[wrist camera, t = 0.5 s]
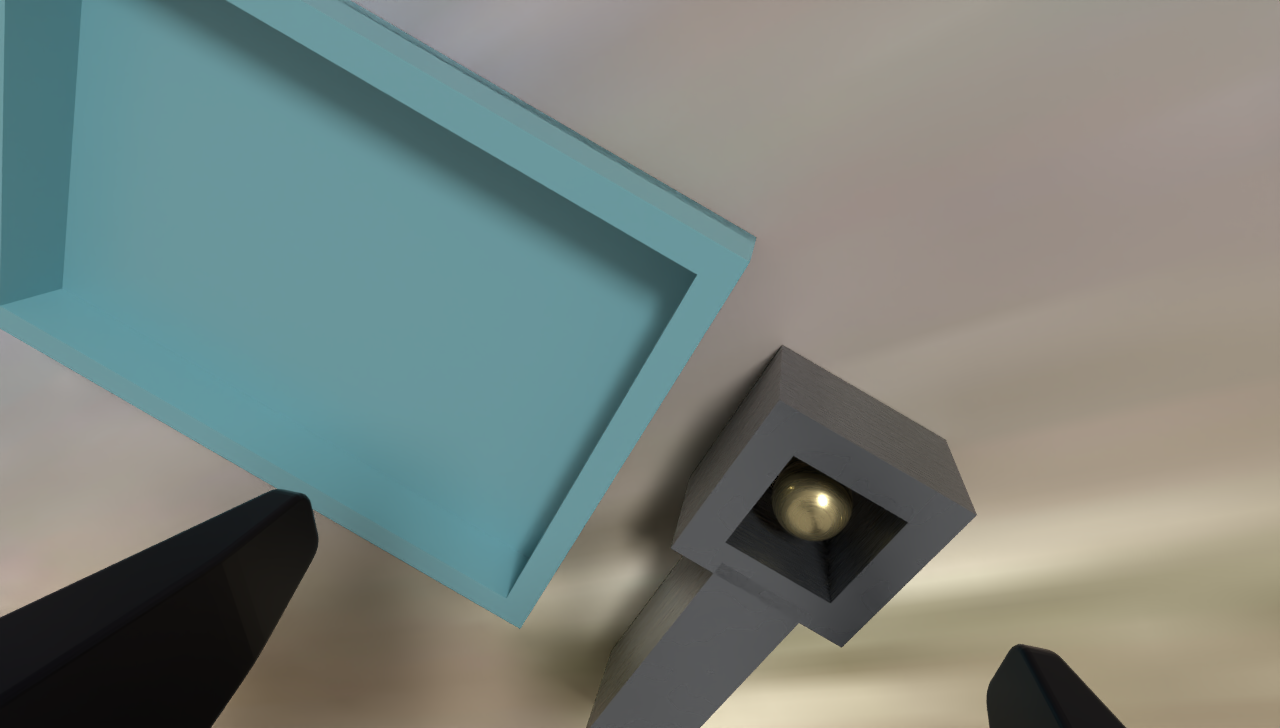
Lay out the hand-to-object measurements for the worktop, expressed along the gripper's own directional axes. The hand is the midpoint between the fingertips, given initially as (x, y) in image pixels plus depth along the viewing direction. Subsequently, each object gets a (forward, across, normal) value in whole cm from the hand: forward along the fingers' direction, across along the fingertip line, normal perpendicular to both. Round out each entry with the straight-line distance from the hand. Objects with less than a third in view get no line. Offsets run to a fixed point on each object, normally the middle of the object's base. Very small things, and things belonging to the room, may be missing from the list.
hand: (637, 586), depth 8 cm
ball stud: (+12, -4, +7) cm, 15 cm away
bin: (+14, +12, +3) cm, 19 cm away
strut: (+12, -3, +11) cm, 17 cm away
